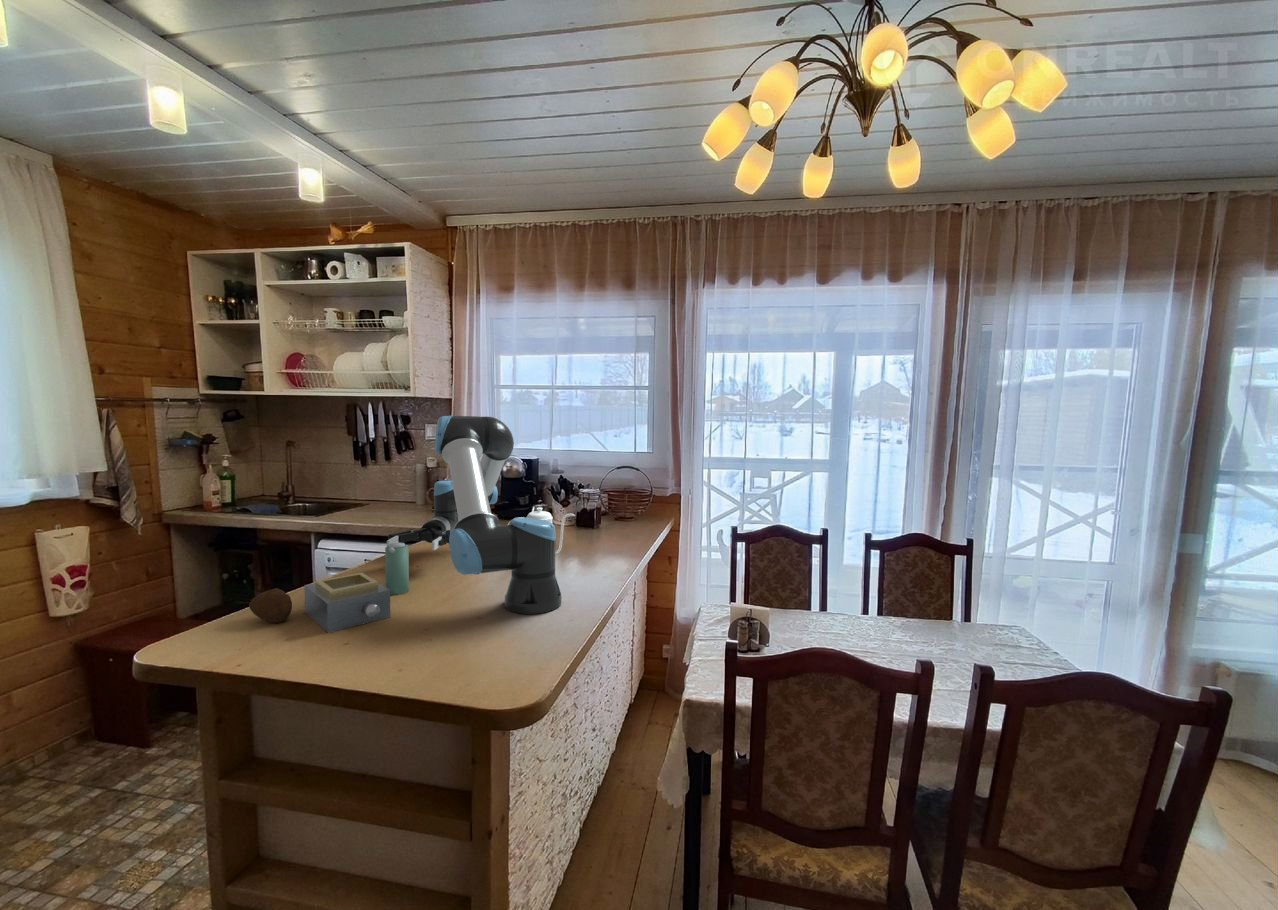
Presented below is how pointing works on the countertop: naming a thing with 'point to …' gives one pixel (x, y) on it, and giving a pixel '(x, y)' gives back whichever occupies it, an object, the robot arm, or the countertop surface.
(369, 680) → the countertop surface
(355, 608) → the box
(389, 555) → the can
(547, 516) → the coffeepot
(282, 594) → the potato
